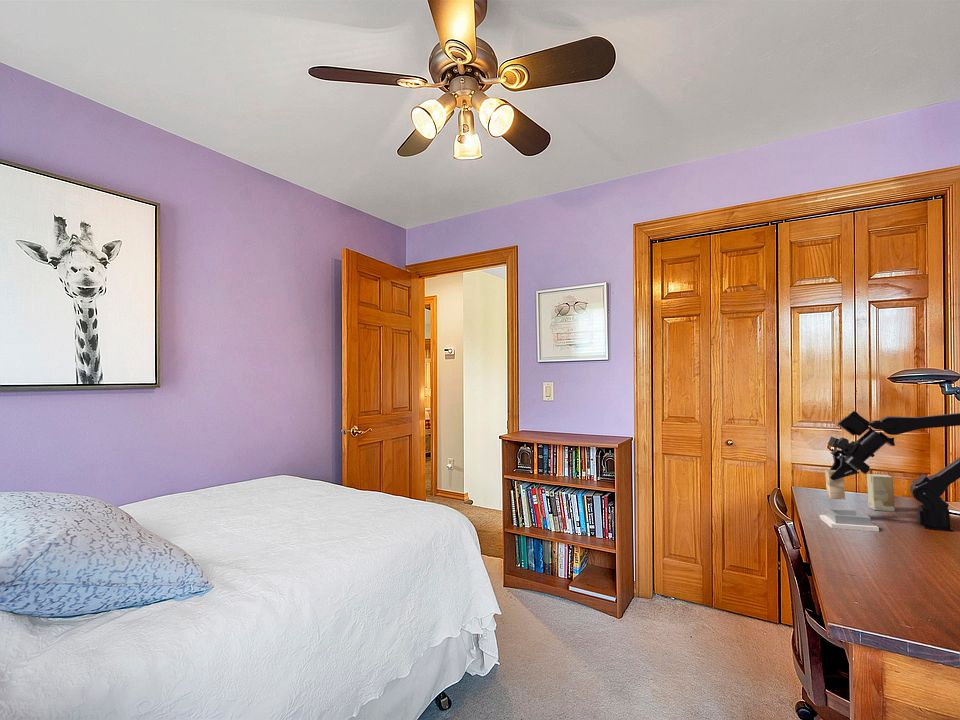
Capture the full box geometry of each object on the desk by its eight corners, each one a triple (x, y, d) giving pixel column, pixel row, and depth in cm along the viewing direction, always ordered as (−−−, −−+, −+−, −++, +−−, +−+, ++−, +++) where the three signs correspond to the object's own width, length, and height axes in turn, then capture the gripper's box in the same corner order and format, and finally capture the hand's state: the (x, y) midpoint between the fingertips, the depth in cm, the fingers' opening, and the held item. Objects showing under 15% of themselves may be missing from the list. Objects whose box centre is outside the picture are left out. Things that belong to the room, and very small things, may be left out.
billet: (841, 496, 157) (839, 470, 158) (845, 499, 153) (842, 472, 154) (827, 496, 159) (824, 469, 159) (830, 498, 155) (828, 471, 156)
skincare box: (874, 510, 164) (871, 475, 164) (868, 507, 168) (865, 473, 169) (896, 511, 162) (893, 476, 163) (889, 508, 166) (886, 474, 167)
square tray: (863, 521, 151) (862, 509, 152) (879, 531, 141) (878, 519, 141) (819, 518, 156) (819, 507, 156) (831, 528, 145) (830, 516, 145)
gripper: (835, 426, 165) (801, 456, 168) (854, 431, 148) (815, 464, 151) (864, 449, 161) (829, 479, 165) (887, 456, 144) (847, 490, 147)
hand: (829, 477), depth 157 cm, fingers closed on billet, 4 cm apart
